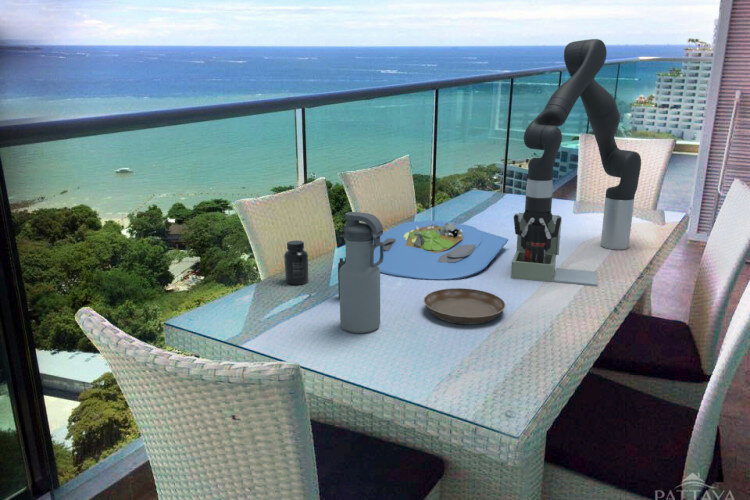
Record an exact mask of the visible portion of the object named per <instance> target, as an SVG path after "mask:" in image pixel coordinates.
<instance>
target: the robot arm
mask: <svg viewBox="0 0 750 500" xmlns="http://www.w3.org/2000/svg"><path fill="white" fill-rule="evenodd" d="M606 59H607V47H606V44H605V43H604V41H603V40H601V39H598V38H592V39H591V38H589V39H583V40H577V41H572V42H569V43H568V44H566V46H565V48H564V51H563V61H564V64H565V67H566V70H567V73H568V74H569V76H570V77H569V78H568V79H567V80H566V81H565V82H564V83H562V84H561V85H560V86H559V87H557V89H555V91H554V92H553V93H552V94H551V96H550V98H549V99H548V101H547V103H546V104H545V106H544V109H543V110H542V111H541V112H540V113H539V114H538V115H537V116H536V117H535V118H534V119H533V120H532V121H531V122H530V123H529V124H528V126H527V127H526V129H525V131H524V135H523V142H524V145H525V146H526V148H529V149H530V150H537V151H538V150H540V151H543V153H542V156H539V157H534V158H531V159H530V160H529V162H528V168H527V169H528V170H527V181H526V186H525V187H526V188H525V203H524V204H525V205H524V212H523V213H524V214H519V213H515V214H514V215H513V222H514V233H515V235H520V236H521V247H523V249H525V248H526V234H527V231H528V224H530V225H532V224H537V225H544V226H545V232H546V236H547V238H546V248H545V251H548V249H550V247H551V239H552V238H554V237H557V236H558V232H559V227H560V223H561V224H562V222H561V220H562V216H561V215H559V216H558V217H556V216H552V215H553V213H552V206H553V205H552V204H553V203H552V202H553V191H554V186H553V185H554V183H553V180H554V179H553V178H554V165H555V162H556V158H557V155H558V152H559V150H560V147H561V144H562V141H563V134H562V131H561V129H560V127H561V126H563V125H564V124H565V123H566V121H567V119H568V117H569V116H570V113H571V111H572V110H573V108H574V106H575V105H576V102H577V101H578V99H579V98H580V100H581V102H582V104H583V107H584V110H585V113H586V116H587V120H588V123H589V124H590V127H591V129H592V132H593V134H594V138H595V141H596V143H597V148H598V151H599V156H600V161H601V163H602V168H603V170H604V173H606V175H607V176H609V177H613V178H620V179H619V184H617V185H615V186H611V187H608V188H606V191H605V199H604V206H603V207H604V208H603V216H602V217H603V218H602V220H603V221H602V228H601V236H600V237H601V238H600V246H601V247H603V248H604V249H605V248H606V249H610V250H627V249H629V248H630V239H631V238H630V237H631V231H632V223H633V215H634V203H635V196H636V194H637V193H636V192H637V189H638V186H639V180H640V175H641V174H640V173H641V169H642V158H641V155H640V154H639V152H637V151H635V150H634V151H633V150H626V149H621V148H619V147H618V145H617V142H616V139H615V134H616V133H617V130H618V127H619V125H620V122H621V116H620V112H619V108H618V106H617V102H616V100H615V98H614V97H613V95H611V92H609V91H608V90H606V88H604V87H603V86H602V85H600V84H599V83H598V82H597V81H596V79H595V77H596V76H597V74H598V73H599V71H601V70H602V68H603V67H604V64H605V62H606ZM522 218H524V220H525V221H526V223H527V225H526V227H525V228H524V230H523V231H522V230H520V223H519V222H520V221H521V219H522ZM551 220H553V221H554V224H556V226H555V230H554V232H553V233H551V232H550V229H549V226H548V225H547V224H548V223H549V222H550V221H551ZM546 225H547V226H546Z"/></svg>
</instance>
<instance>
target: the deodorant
mask: <svg viewBox="0 0 750 500" xmlns="http://www.w3.org/2000/svg"><path fill="white" fill-rule="evenodd" d="M547 225H548V224H547ZM547 225H546V226H547ZM546 238H547V236H546V232H545V226H544V225H537V224H532V225H530V224H528V231H527V234H526V248H525V262H531V263H542V264H545V254H546V251H545V248H546Z"/></svg>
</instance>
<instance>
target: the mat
mask: <svg viewBox="0 0 750 500" xmlns="http://www.w3.org/2000/svg"><path fill="white" fill-rule="evenodd" d="M598 274H599V272H598V271H592V270H581V269H571V268H561V267H556V268H555V273H554V278H553V281H554V283H559V284H560V283H561V284H569V285H580V286H587V287H588V286H591V287H598V285H599V281H598V279H599V275H598Z"/></svg>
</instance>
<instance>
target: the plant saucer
mask: <svg viewBox="0 0 750 500" xmlns="http://www.w3.org/2000/svg"><path fill="white" fill-rule="evenodd" d="M423 303H424V304H425V306H426V308H427V310H428V311H429V312H430V313H431V314H432V315H433V316H435V317H436V318H437V319H439V320H442V321H445V322H448V323H453V324H458V325H480V324H484V323H489V322H491V321H492V320H494V319H495V318H498V316H500V315H501V314H502V313H503V312H504V310H505V308H506V303H505V301H504V299H502V298H501V297H499V296H498V295H496V294H494V293H491V292H487V291H484V290H479V289H472V288H461V287H460V288H459V287H456V288H455V287H454V288H452V287H451V288H443V289H437V290H435V291H432V292H430V293H428V294H427V295H425V297H424V299H423Z"/></svg>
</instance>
